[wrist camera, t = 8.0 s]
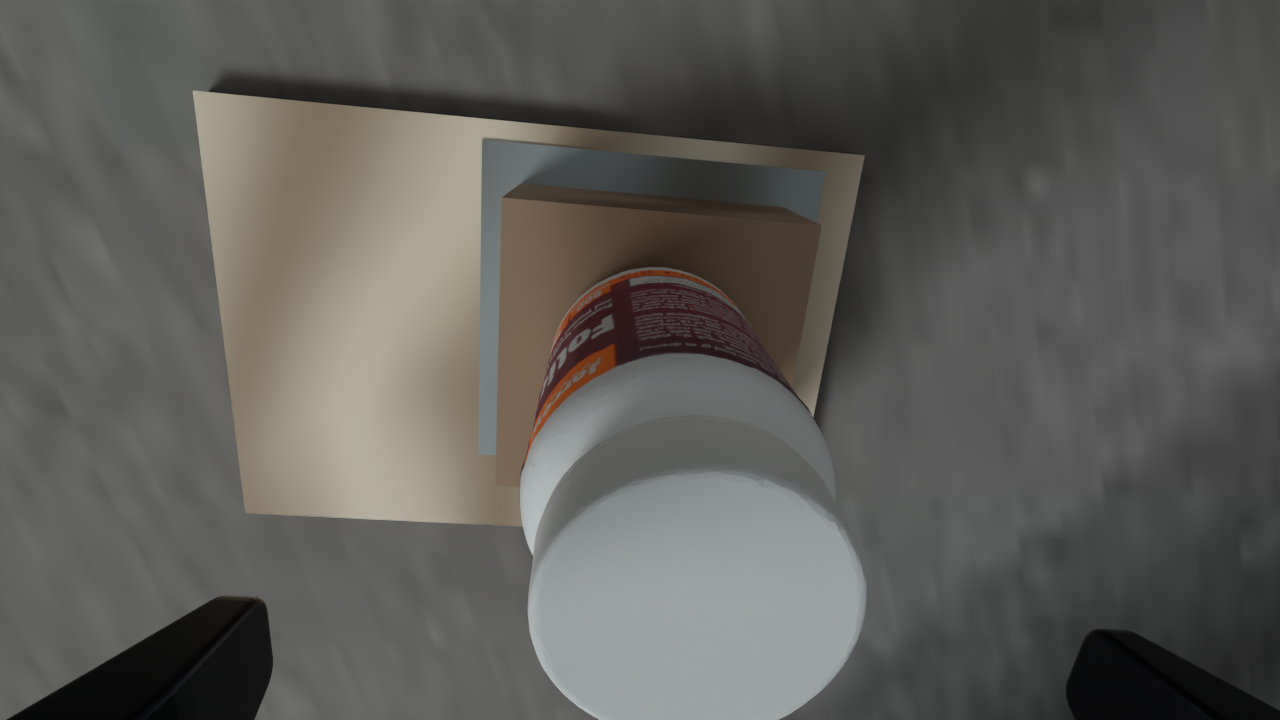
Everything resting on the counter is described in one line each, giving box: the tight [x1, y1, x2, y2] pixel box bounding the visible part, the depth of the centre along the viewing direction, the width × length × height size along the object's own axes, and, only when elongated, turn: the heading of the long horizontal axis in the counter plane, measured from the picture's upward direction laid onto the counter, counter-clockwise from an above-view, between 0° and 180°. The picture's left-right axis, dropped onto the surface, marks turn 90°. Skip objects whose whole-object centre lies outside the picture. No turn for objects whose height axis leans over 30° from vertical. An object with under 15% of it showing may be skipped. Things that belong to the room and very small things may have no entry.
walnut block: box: [495, 184, 822, 487], centre depth 17 cm, size 7×7×3 cm
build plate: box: [193, 91, 865, 527], centre depth 19 cm, size 17×12×1 cm
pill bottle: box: [519, 267, 867, 720], centre depth 12 cm, size 5×5×8 cm
